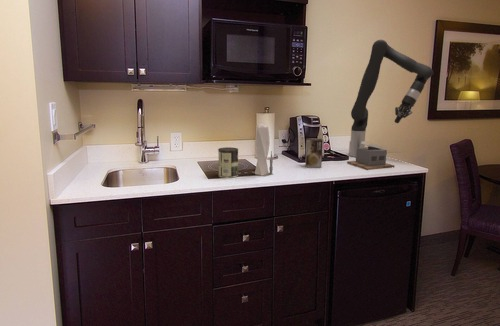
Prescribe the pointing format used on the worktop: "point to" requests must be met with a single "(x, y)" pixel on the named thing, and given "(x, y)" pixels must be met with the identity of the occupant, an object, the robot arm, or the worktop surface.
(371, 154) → the switch block
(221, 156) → the coffee can
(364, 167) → the base board
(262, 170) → the skyscraper
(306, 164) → the coffee box
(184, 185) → the worktop surface
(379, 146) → the rocker
